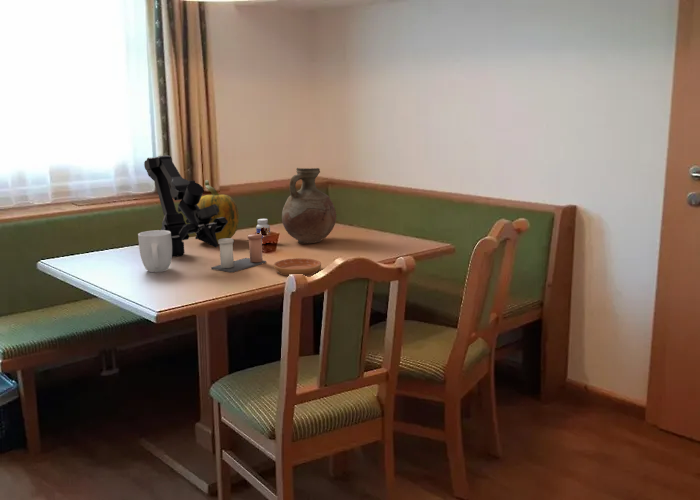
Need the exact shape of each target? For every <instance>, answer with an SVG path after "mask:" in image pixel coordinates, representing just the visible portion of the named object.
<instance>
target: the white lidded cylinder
mask: <svg viewBox="0 0 700 500" xmlns="http://www.w3.org/2000/svg"><path fill="white" fill-rule="evenodd" d="M234 241H235V240H234V238H232V237H231V238H224V239H219V240H218V243H219V244H218V246H219V257H220V258H219V259H220V265H221V268H231V267H234V261H235V260H234V249H233V248H234V247H233V246H234V245H233V244H234Z"/></svg>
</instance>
